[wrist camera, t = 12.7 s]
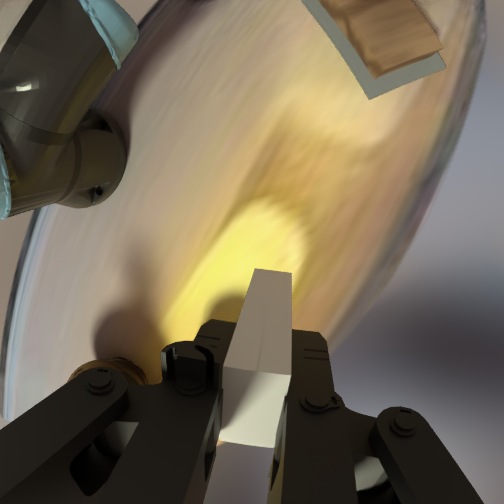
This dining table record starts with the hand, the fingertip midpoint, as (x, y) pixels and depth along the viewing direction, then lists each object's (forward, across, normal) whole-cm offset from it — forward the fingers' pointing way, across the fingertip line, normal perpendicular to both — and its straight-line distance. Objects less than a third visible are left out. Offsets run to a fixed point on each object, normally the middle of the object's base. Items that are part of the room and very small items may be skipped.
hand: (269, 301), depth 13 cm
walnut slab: (+25, +5, +34) cm, 43 cm away
